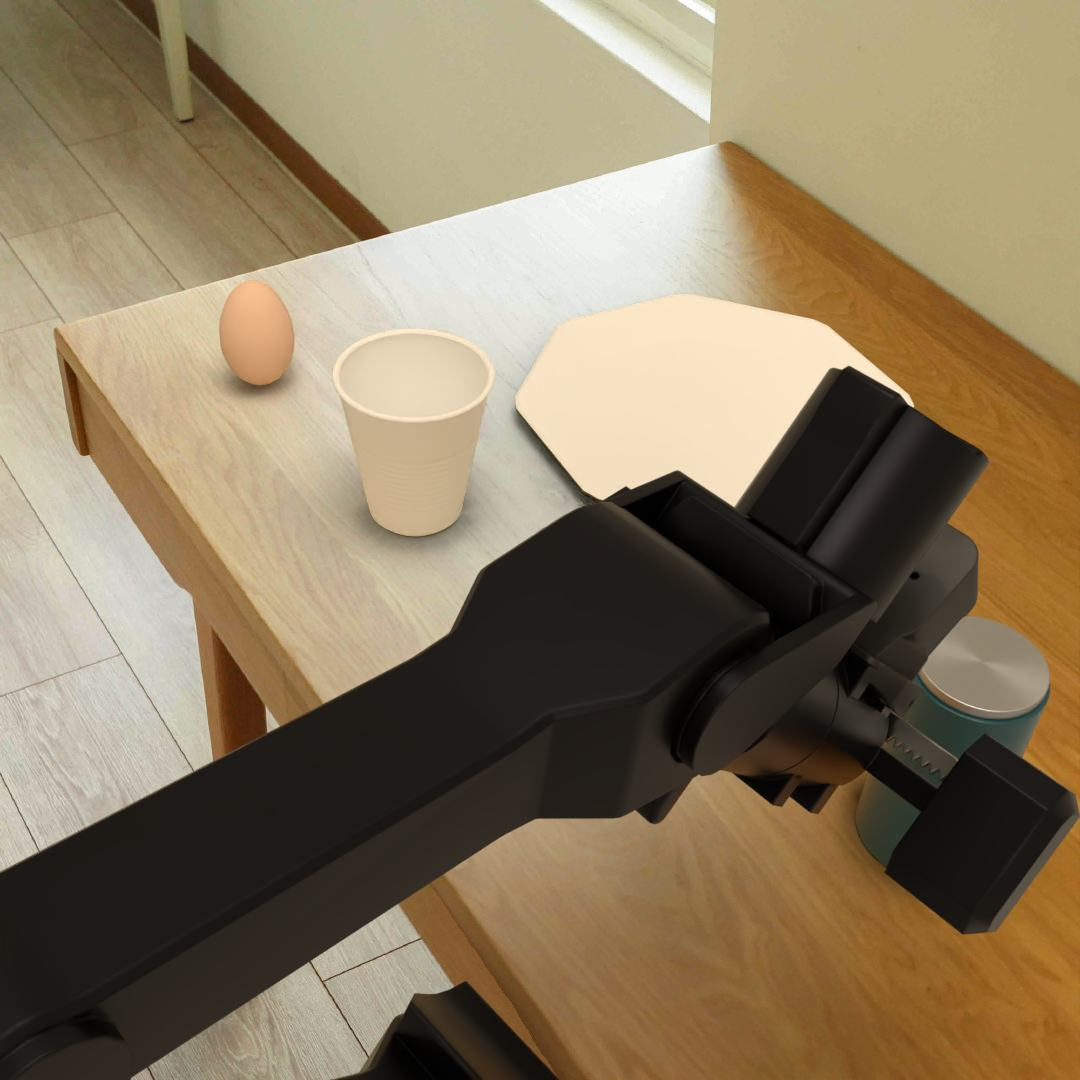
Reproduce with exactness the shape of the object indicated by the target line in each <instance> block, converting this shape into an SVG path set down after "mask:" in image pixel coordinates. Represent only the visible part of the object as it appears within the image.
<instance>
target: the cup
mask: <svg viewBox="0 0 1080 1080" xmlns="http://www.w3.org/2000/svg"><path fill="white" fill-rule="evenodd" d="M331 373H332V374H331V381H332V385H333V388H334V390H335V393H336V394H338V397H339V398H340V402H341V406H342V410H343V413H344V418H345V421H346V424H347V425H346V426H347V430H348V433H349V437H350V440H351V444H352V447H353V452H354V456H355V459H356V463H357V468H358V471H359V474H360V479H361V482H362V483H361V484H362V486H363V487H362V488H363V490H364V495H365V498H366V502H367V507H368V509H369V513H370V516H371V517H372V518H373V520H374V521H375V522H376V523H377V524H378V525H379V526H380V527H382V528H384V529H385V530H388V531H390V532H392V533H394V534H397V535H401V536H407V537H425V536H430V535H433V534H437V533H439V532H441V531H443V530H445V529H447V528H448V527H450V526H452V525H453V524H454V523H455V522H456V521H457V520H458V519H459V517H460V516H461V514H462V510H463V505H464V503H465V498H466V493H467V489H468V484H469V481H470V474H471V470H472V466H473V462H474V458H475V453H476V448H477V445H478V440H479V435H480V431H481V426H482V423H483V420H484V419H483V418H484V414H485V411H486V406H487V401H488V397H489V395H490V394H491V392H492V391H493V389H494V385H495V383H496V371H495V367H494V365H493V362H492V360H491V359H490V358H489V356H488V355H487V354H486V353H485V351H484V350H483V349H481V348H480V347H479V346H478V345H476V344H475V343H473V342H471V341H469V340H467V339H465V338H464V337H461V336H458V335H456V334H453V333H451V332H446V331H441V330H438V329H437V330H436V329H427V328H399V329H398V328H397V329H390V330H385V331H381V332H377V333H373V334H371V335H368V336H365V337H363V338H361V339H359V340H357V341H356V342H354V343H352V344H350V345H349V346H348V347H347V348H346V349H344V350H343V351H342V352H341V353H340V354H339V356H338V357H337V358H336V360H335V362H334V365H333V368H332V372H331Z"/></svg>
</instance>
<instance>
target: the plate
mask: <svg viewBox="0 0 1080 1080" xmlns="http://www.w3.org/2000/svg"><path fill="white" fill-rule="evenodd" d="M847 366H851V367H853V368H855V369H856V370H858V371H860V372H862V373H864V374H865V375H867V376H869V377H871V378H873V379H874V380H876V381H878V382H880V383H882V384H883V385H885V386H887V387H889V388H890V389H892V390H894V391H896V392H898V393H899V394H901V396H902V397H903V398H904V400H905V401H906V402H907V403H908V405H910V406H912V407H913V408H915V403H914V402H913V400H912V397H911V396H910V393H908V392H906V390H904V389H903V388H902V387H901V386H899V385H898V384H897V383H896V382H895V381H894V380H893V379H891V378H890V377H889V376H888V375H887V374H885V372H883V371H882V370H881V369H880V368H878V367H877V366H876V365H875V364H874V363H872V362H871V361H870V360H869V359H868V358H866V357H865V356H864V355H863V354H862V353H861V352H860V351H858V350H857V349H856V348H855V347H853V346H852V345H851V344H850V343H849V342H848V341H846V339H844V338H843V337H842V336H841V335H840V334H838V333H837V332H836V331H835V330H833V328H831V327H830V326H829V325H827V324H825V323H823V322H820V321H819V320H817V319H815V318H810V317H805V316H800V315H795V314H791V313H787V312H782V311H781V312H780V311H777V310H772V309H767V308H762V307H757V306H752V305H748V304H744V303H739V302H733V301H729V300H723V299H718V298H715V297H709V296H705V295H700V294H695V293H674V294H671V295H666V296H662V297H657V298H654V299H649V300H645V301H640V302H637V303H633V304H627V305H623V306H620V307H614V308H611V309H607V310H603V311H598V312H595V313H591V314H586V315H582V316H581V315H580V316H578V317H572V318H570V319H566V320H565V321H563V322H562V323H559V324H558V325H556V326H555V327H554V329H553V330H552V333H551V335H550V336H549V338H548V340H547V341H546V343H545V345H544V347H543V348H542V350H541V351H540V353H539V355H538V357H537V359H536V360H535V361H534V364H533V366H532V367H531V369H530V370H529V372H528V374H527V375H526V377H525V379H524V380H523V382H522V384H521V386H520V387H519V389H518V390H517V393H516V394H515V396H514V403H515V405H514V406H515V411H516V412H517V414H518V415H519V416H520V417H521V418H522V420H523V421H524V422H525V424H527V426H528V427H529V429H531V431H532V432H533V433H534V434H535V436H536V437H537V438H538V439H539V441H540V442H541V443H542V444H543V446H544V447H545V448H546V449H547V450H548V452H549V453H550V454H551V456H552V457H553V458H554V459H555V460H556V462H557V463H558V465H560V467H561V468H562V469H563V470H564V471H565V473H566V474H567V475H568V476H569V478H570V479H571V480H572V481H573V482H574V484H575V485H576V486H577V487H578V488H579V490H580V492H582V493H583V494H584V495H586V496H588V497H589V498H591V499H593V500H594V501H597V502H601V501H602V500H604V499H606V498H607V497H609V496H611V495H612V494H614V493H615V492H617V491H619V490H620V489H622V488H624V487H625V486H627V487H628V488H630V489H633V488H636V487H638V486H640V485H643V484H645V483H647V482H650V481H652V480H654V479H657V478H659V477H662V476H664V475H666V474H669V473H671V472H673V471H676V470H678V471H681V472H682V473H684V474H685V475H687V476H688V477H690V478H691V479H693V480H694V481H696V482H697V483H699V484H700V485H702V486H703V487H705V488H706V489H708V490H709V491H711V492H712V493H714V494H715V495H717V496H718V497H720V498H721V499H723V500H724V501H726V502H727V503H729V504H730V505H732V506H733V507H735V505H736V504H737V502H738V501H739V499H740V498H741V496H742V495H743V493H744V492H745V491H746V489H747V488H748V486H749V485H750V483H751V482H752V480H753V479H754V478H755V476H756V475H757V473H758V472H759V470H760V469H761V467H762V466H763V464H764V463H765V462H766V460H767V459H768V457H769V456H770V454H771V453H772V451H773V450H774V448H775V447H776V446H777V444H778V443H779V441H780V440H781V438H782V437H783V435H784V434H785V433H786V431H787V430H788V428H789V427H790V425H791V424H792V422H793V421H794V419H795V418H796V417H797V415H798V414H799V412H800V411H801V409H802V408H803V406H804V405H805V404H806V402H807V401H808V399H809V398H810V396H811V395H812V393H813V392H814V390H815V389H816V388H817V386H818V385H819V383H820V382H821V380H822V379H823V377H824V376H825V375H826V373H827V372H828V370H829V369H830V368H837V369H843V368H845V367H847Z"/></svg>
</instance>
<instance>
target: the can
mask: <svg viewBox="0 0 1080 1080" xmlns="http://www.w3.org/2000/svg"><path fill="white" fill-rule="evenodd" d="M913 682H915V683H916V684H918V685H919V686H921V687H922V688H923V689H924V690H923V691H922V692H921V694H920V695H919V697H918V698H917V699H916V701H915V702H914V704H913V705H912V707H911V708H910V709H909V711H908V712H907V714H906V715H905V716H903V717H900V716H899V715H897V714H896V713H894V712H893V711H891V712H893V713H894V714H896V715H897V716H898V717H900V718H901V719H903V720H904V721H905V722H907V723H908V724H910V725H911V726H912V727H914V728H915V729H917V730H918V731H920V732H921V733H922V734H924V735H925V736H927V737H928V738H929V739H931V740H932V741H934V742H935V743H936V744H938V745H939V746H941V747H942V748H943V749H945V750H946V751H948V752H949V753H950V754H952V755H953V756H955V757H956V758H958V759H959V758H960V757H961V756H962V754H963V753H964V751H965V750H967V749H968V748H969V747H970V746H971V745H972V744H973V743H974V742H976V741H977V740H978V739H979V738H980V737H981V736H982V735H983V734H984V733H986V734H988V735H989V736H991V737H993V738H994V739H996V740H997V741H999V742H1000V743H1002V744H1003V745H1005V746H1006V747H1008V748H1009V749H1011V750H1012V751H1014V752H1015V753H1016V754H1018V755H1019V756H1021V757H1022V758H1024V755H1025V753H1026V751H1027V749H1028V746H1029V744H1030V741H1031V740H1032V737H1033V735H1034V733H1035V730H1036V728H1037V726H1038V724H1039V722H1040V720H1041V717H1042V715H1043V713H1044V711H1045V708H1046V707H1047V704H1048V701H1049V699H1050V695H1051V673H1050V668H1049V665H1048V662H1047V660H1046V658H1045V657H1044V655H1043V653H1042V652H1041V651H1040V650H1039V648H1038V647H1037V645H1035V643H1034V642H1032V641H1031V640H1030V639H1029V638H1028V637H1026V636H1025V635H1024V634H1022V633H1020V632H1019V631H1017V630H1016V629H1014V628H1013V627H1010V626H1008V625H1006V624H1004V623H1002V622H999V621H996V620H993V619H990V618H986V617H981V616H975V615H967V616H965V617H963V618H962V619H961V620H960V621H959V622H958V623H957V625H956V626H955V627H954V628H953V629H952V630H951V631H950V633H949V634H948V635H947V636H946V637H945V638H944V639H943V640H942V642H941V643H940V644H939V645H938V646H937V647H936V648H935V650H934V651H933V652H932V653H931V654H930V655H929V656H928V660H927V662H926V663H925V665H924V666H923V667H922V669H921V670H920V672H919V673H918V674H917V676H916V677H915V679H914V680H913ZM894 742H895V739H894V740H892V741H891V742H890V743H888V742H886V741H885V742H884V744H883V747H884V748H885V749H887V750H888V751H890V752H891V753H892V754H894V755H895V756H896V757H898V758H899V759H901V760H902V761H903V762H905V763H906V764H907V765H909V766H910V767H911V768H913V769H914V770H916V771H917V772H918V773H920V774H921V775H922V776H924V777H925V778H927V779H928V780H929V781H931V782H932V783H933V784H935V785H936V786H938V787H939V786H940V785H941V783H942V782H943V781H944V780H943V781H940V780H938V776H939V772H940V771H938V772H937V773H935V774H934V775H932V774H930V773H929V769H930V766H931V764H930V765H928V766H927V767H925V768H922V767H921V766H920V763H921V759H922V758H920V759H919V760H917V761H916V762H914V761H912V760H911V757H912V753H913V751H912V752H911V753H909V754H908V755H904V754H903V753H902V751H903V748H904V745H903V746H902V747H900V748H899V749H896V748H894V747H893V746H894ZM920 813H921V811H919V810H918V809H917V808H915V807H914V806H913V805H911V804H910V803H909V802H907V801H906V800H905V799H903V798H902V797H901V796H899V795H898V794H897V793H895V792H894V791H892V790H891V789H890V788H888V787H887V786H886V785H884V784H883V783H882V782H880V781H879V780H878V779H876V778H875V777H874V776H872V775H871V774H870V773H868V772H867V776H866V779H865V783H864V785H863V788H862V791H861V794H860V797H859V800H858V802H857V805H856V810H855V826H856V830H857V833H858V836H859V838H860V840H861V842H862V844H863V845H864V846H865V847H864V848H866V850H867V851H868V852H869V853H870V855H871V856H873V857H874V858H875V860H877V861H878V862H879V863H881V864H882V865H883V866H884V867H885V868H886V867H887V865H888V862H889V859H890V857H891V854H892V852H893V850H894V849H895V847H896V846H897V845H898V843H899V842H900V840H901V839H902V838H903V836H904V835H905V833H906V832H907V831H908V829H909V828H910V827H911V825H912V824H913V822H914V821H915V820H916V818H917V817H918V815H919V814H920Z"/></svg>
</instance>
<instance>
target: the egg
mask: <svg viewBox="0 0 1080 1080" xmlns="http://www.w3.org/2000/svg"><path fill="white" fill-rule="evenodd" d="M218 325H219V326H218V334H219V344H220V345H219V346H220V349H221V350H220V351H221V354H222V356H223V358H224V361H225V362H226V364H227V365H228V367H229V368H230V370H231V371H232V372H233V373H234V374H235V375H236V376H237V377H238V378H240V380H242V381H244V382H246V383H249V384H250V385H255V386H266V385H269V384H271V383H273V382H275V381H276V380H278V379H280V378H281V376H282V375H283V374H284V373H285V372H286V370H287V369H288V367H289V365H290V363H291V361H292V359H293V355H294V351H295V331H294V326H293V320H292V318H291V315H290V312H289V311H288V308H287V307H286V305H285V302H284V301H283V299H282V298H281V297H280V295H279V294H278V293H277V292H276V290H275V289H273V288H272V287H271V286H270V285H268V284H266V283H264V282H263V281H260V280H254V279H253V280H246V281H244V282H241V283H240V284H238V285H237V286H235V287H234V288H233V289H232V290H231V292H230V293H229V294H228V295H227V297H226V300H225V302H224V304H223V307H222V311H221V314H220V316H219V324H218Z"/></svg>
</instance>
